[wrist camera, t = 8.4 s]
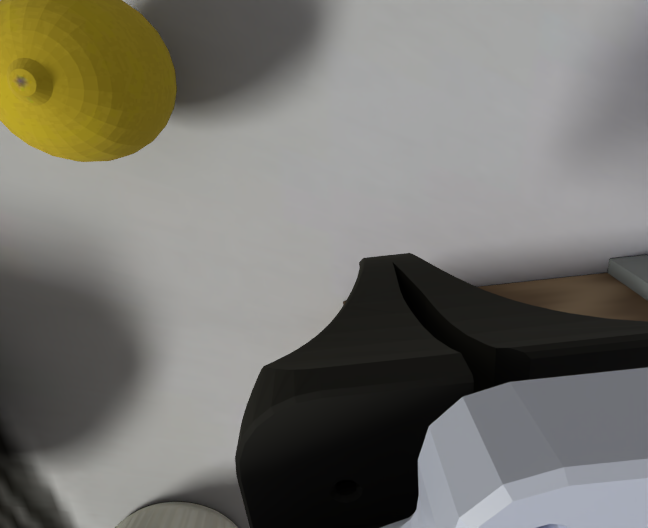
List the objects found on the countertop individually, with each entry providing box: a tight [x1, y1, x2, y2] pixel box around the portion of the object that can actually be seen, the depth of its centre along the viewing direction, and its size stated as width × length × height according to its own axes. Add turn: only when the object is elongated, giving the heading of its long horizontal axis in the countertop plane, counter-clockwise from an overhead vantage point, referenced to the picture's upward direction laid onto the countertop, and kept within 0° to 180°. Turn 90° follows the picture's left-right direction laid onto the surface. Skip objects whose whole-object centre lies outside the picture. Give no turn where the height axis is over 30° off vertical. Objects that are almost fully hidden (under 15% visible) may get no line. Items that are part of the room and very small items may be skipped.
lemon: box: [0, 0, 177, 162], centre depth 15 cm, size 6×6×8 cm
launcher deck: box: [343, 273, 648, 321], centre depth 22 cm, size 14×8×6 cm, turn 96°
